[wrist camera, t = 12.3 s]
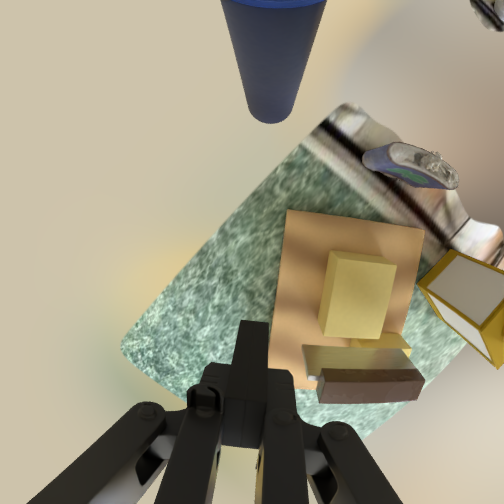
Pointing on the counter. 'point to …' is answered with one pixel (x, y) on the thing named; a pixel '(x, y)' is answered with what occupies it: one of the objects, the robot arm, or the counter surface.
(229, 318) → the counter surface
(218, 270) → the counter surface
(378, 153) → the flask
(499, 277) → the soap bottle
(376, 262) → the butter block
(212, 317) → the counter surface
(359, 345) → the butter pat
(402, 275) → the butter board
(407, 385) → the dough scraper
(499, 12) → the salt shaker
